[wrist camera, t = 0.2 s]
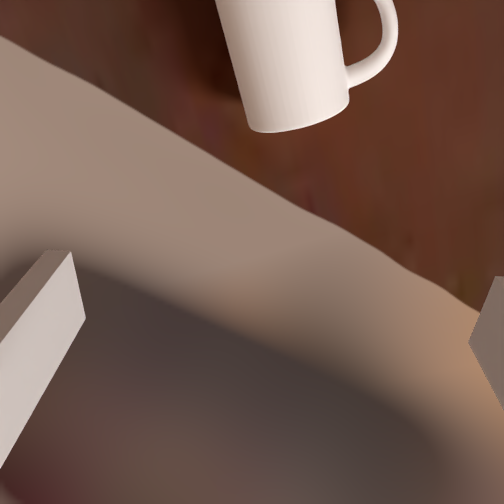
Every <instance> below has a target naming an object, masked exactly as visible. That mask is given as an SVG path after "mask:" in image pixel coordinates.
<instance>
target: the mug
mask: <svg viewBox="0 0 504 504" xmlns="http://www.w3.org/2000/svg"><path fill="white" fill-rule="evenodd" d="M374 1H375V3H376V4H377V7H378V9H379V12H380V15H381V20H382V27H383V35H382V40H381V43H380V45H379V47H378V48H377V49H376V50H375V52H373V53H372V54H371V55H370V56H368V57H367V58H365V59H363V60H362V61H360V62H357V63H355V64H353V65H350V66H345V65H344V60H343V53H342V47H341V40H340V33H339V26H338V19H337V13H336V6H335V0H215V2H216V6H217V10H218V13H219V17H220V21H221V24H222V28H223V32H224V35H225V39H226V43H227V47H228V50H229V54H230V58H231V61H232V65H233V69H234V72H235V76H236V80H237V83H238V87H239V91H240V94H241V98H242V102H243V106H244V109H245V113H246V117H247V120H248V124H249V127H250V128H251V129H252V130H254V131H257V132H264V133H273V132H283V131H289V130H294V129H299V128H303V127H306V126H310V125H313V124H316V123H319V122H321V121H324V120H326V119H328V118H331V117H333V116H334V115H336V114H338V113H339V112H341V111H342V110H343V109H345V108H346V106H347V105H348V103H349V94H348V90H349V88H350V87H353V86H356V85H358V84H360V83H363V82H365V81H367V80H369V79H370V78H372V77H373V76H375V75H376V74H377V73H379V72H380V71H381V70H382V69H383V68H384V67H385V66H386V64H387V63H388V62H389V60H390V59H391V57H392V55H393V52H394V50H395V47H396V43H397V38H398V21H397V15H396V11H395V7H394V4H393V1H392V0H374Z"/></svg>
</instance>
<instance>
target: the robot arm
mask: <svg viewBox="0 0 504 504" xmlns="http://www.w3.org/2000/svg"><path fill="white" fill-rule="evenodd" d="M84 320H85V314H84V309H83V304H82V300H81V295H80V290H79V286H78V281H77V277H76V272H75V268H74V263H73V259H72V254H71V251H61V250H46V251H45V252H44V253H43V254H42V256H41V257H40V258H39V259H38V260H37V262H36V263H35V264H34V265H33V266H32V268H30V270H29V271H28V272H27V273H26V274H25V276H24V277H23V278H22V279H21V280H20V282H19V283H18V284H17V285H16V286H15V287H14V288H13V290H12V291H11V292H10V293H9V294H8V295H7V296H6V298H5V299H4V300H3V301H2V302H1V303H0V468H1V466H2V465H3V463H4V461H5V459H6V458H7V456H8V454H9V452H10V451H11V449H12V447H13V445H14V444H15V442H16V440H17V438H18V437H19V434H20V433H21V431H22V430H23V428H24V426H25V424H26V422H27V421H28V419H29V417H30V415H31V414H32V412H33V410H34V408H35V407H36V405H37V403H38V401H39V400H40V398H41V396H42V394H43V393H44V391H45V389H46V387H47V386H48V384H49V382H50V380H51V378H52V377H53V375H54V373H55V371H56V370H57V368H58V366H59V364H60V363H61V361H62V359H63V357H64V356H65V354H66V352H67V350H68V348H69V347H70V345H71V343H72V342H73V340H74V338H75V336H76V334H77V332H78V331H79V329H80V327H81V325H82V324H83V322H84ZM469 345H470V346H471V349H472V350H473V353H474V354H475V356H476V358H477V360H478V362H479V364H480V366H481V368H482V370H483V372H484V374H485V375H486V377H487V379H488V381H489V383H490V385H491V387H492V389H493V391H494V393H495V394H496V397H497V398H498V400H499V402H500V404H501V406H502V408H503V410H504V277H500V276H495V279H494V281H493V284H492V286H491V289H490V291H489V293H488V296H487V298H486V301H485V303H484V305H483V308H482V310H481V313H480V315H479V318H478V320H477V322H476V325H475V327H474V330H473V332H472V335H471V337H470V340H469Z"/></svg>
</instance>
